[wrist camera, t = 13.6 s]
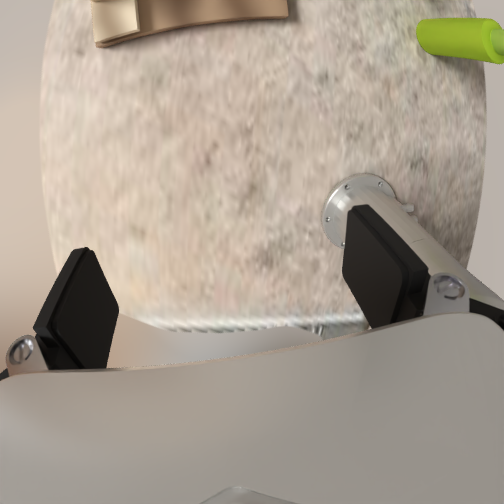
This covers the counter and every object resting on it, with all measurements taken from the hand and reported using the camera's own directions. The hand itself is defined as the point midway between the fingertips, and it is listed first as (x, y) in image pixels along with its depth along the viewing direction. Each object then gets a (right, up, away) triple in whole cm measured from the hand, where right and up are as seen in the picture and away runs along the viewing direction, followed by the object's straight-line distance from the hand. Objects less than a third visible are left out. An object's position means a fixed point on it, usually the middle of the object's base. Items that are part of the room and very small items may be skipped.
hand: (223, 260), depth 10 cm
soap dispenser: (+27, +31, +18) cm, 45 cm away
